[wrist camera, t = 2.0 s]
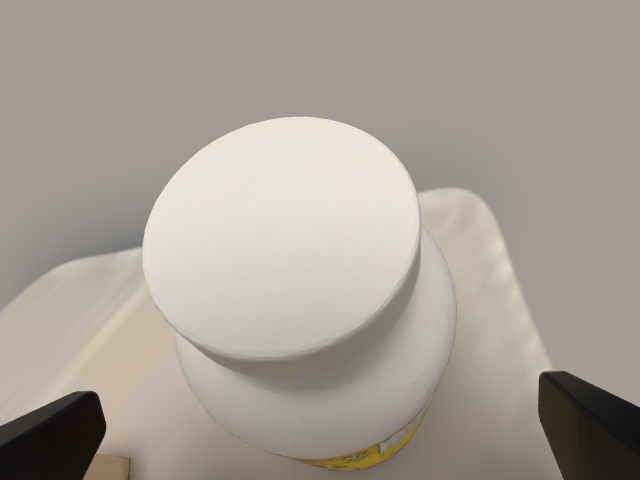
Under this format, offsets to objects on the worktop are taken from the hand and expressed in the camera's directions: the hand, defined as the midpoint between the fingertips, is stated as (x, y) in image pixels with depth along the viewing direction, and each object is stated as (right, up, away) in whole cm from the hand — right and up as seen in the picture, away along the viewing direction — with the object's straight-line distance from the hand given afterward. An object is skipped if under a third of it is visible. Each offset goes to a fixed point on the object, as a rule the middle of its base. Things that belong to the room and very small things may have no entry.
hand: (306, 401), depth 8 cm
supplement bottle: (+1, -3, +9) cm, 10 cm away
